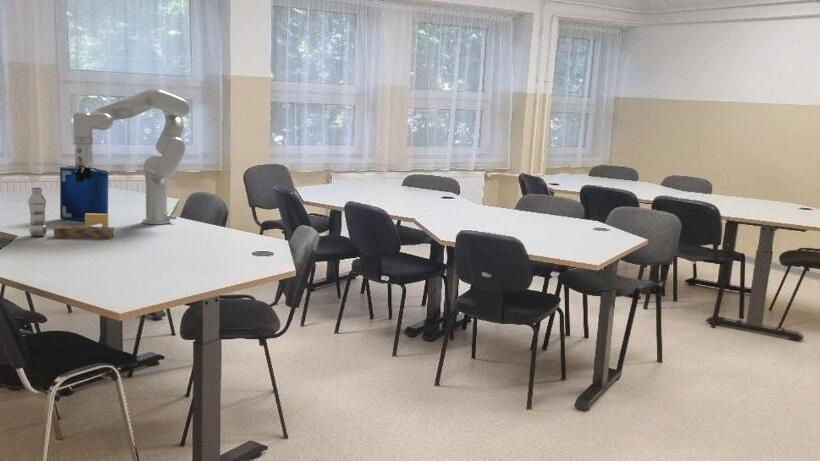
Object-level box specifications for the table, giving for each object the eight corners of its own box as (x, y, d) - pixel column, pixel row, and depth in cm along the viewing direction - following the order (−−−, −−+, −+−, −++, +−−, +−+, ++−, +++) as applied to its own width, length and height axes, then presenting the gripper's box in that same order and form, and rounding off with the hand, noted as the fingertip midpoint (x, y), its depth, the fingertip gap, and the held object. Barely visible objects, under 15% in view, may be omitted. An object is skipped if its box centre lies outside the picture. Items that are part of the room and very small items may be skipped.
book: (111, 221, 341) (110, 168, 337) (103, 223, 334) (102, 169, 330) (67, 217, 343) (66, 165, 339) (59, 220, 336) (57, 166, 332)
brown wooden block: (113, 236, 306) (113, 227, 305) (110, 239, 300) (110, 229, 300) (58, 235, 302) (58, 225, 302) (54, 237, 297) (53, 228, 296)
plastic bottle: (40, 238, 295) (38, 189, 291) (25, 236, 296) (23, 188, 292) (50, 235, 301) (49, 188, 297) (36, 234, 302) (35, 186, 299)
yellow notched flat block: (108, 231, 315) (108, 213, 314) (107, 232, 313) (106, 214, 312) (86, 231, 314) (86, 213, 312) (85, 232, 311) (84, 214, 310)
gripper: (85, 142, 305) (86, 182, 308) (98, 140, 322) (98, 178, 324) (67, 141, 304) (68, 182, 307) (80, 139, 321) (81, 177, 323)
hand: (83, 180), depth 315 cm, fingers open, 9 cm apart
